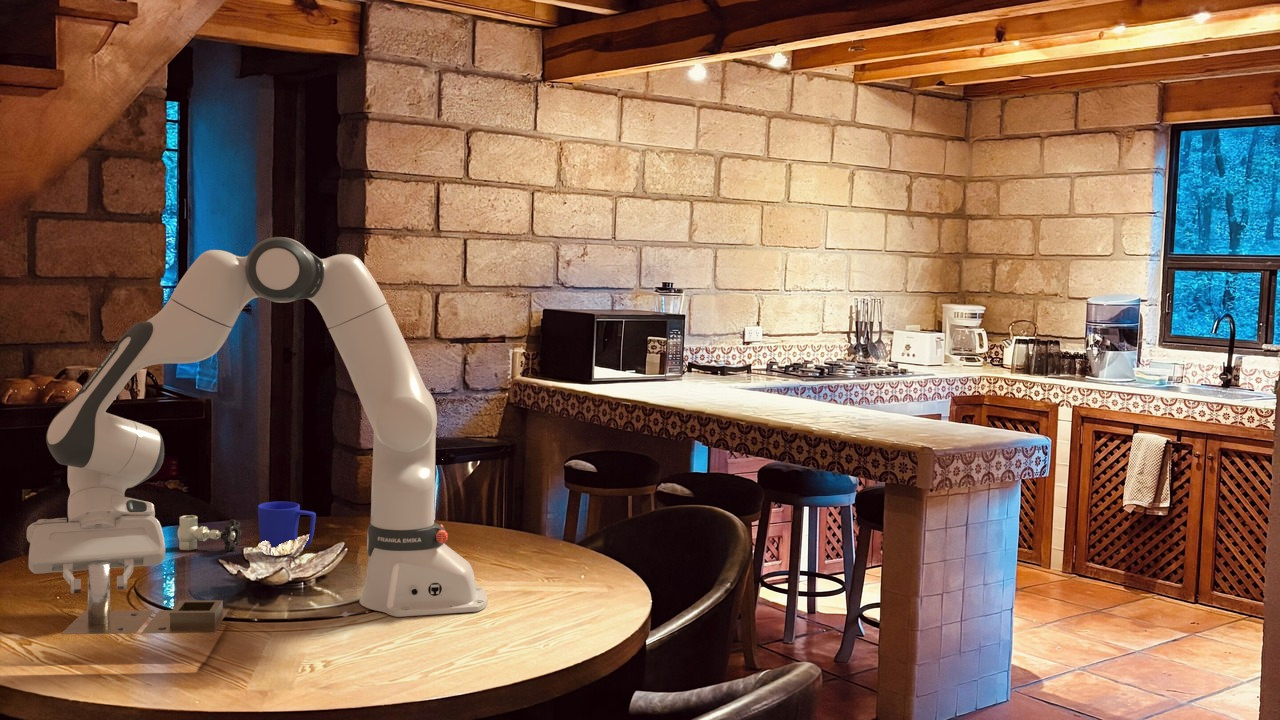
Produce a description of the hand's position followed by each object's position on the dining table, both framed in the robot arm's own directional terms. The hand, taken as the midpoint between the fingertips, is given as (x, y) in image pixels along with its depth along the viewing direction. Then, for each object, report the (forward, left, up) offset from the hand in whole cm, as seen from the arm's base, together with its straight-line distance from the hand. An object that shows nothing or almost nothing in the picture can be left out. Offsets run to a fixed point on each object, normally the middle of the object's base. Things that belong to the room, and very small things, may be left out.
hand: (99, 589), depth 188 cm
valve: (-6, -53, -7) cm, 54 cm away
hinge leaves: (-7, -1, -7) cm, 10 cm away
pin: (0, -1, -5) cm, 5 cm away
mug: (-23, -49, -7) cm, 54 cm away
